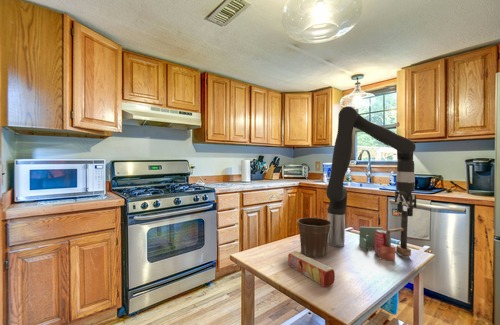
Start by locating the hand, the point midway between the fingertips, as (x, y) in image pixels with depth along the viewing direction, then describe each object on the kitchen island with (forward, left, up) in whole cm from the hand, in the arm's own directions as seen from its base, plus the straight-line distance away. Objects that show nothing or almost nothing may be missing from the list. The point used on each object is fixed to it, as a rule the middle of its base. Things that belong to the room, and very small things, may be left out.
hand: (404, 214), depth 115 cm
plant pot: (-44, -2, -21) cm, 49 cm away
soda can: (-10, 0, -21) cm, 23 cm away
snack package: (-50, -24, -21) cm, 59 cm away
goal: (-10, +8, -21) cm, 25 cm away
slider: (-6, -2, -21) cm, 21 cm away
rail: (0, +5, -21) cm, 21 cm away
